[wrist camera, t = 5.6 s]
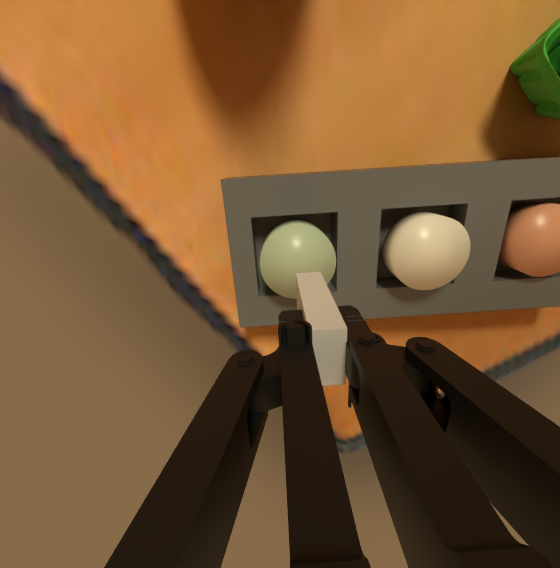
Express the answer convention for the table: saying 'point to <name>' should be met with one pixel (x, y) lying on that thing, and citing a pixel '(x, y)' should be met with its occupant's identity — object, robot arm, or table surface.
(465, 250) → the cream button
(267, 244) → the sage button
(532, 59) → the fruit basket
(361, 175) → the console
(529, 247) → the terracotta button
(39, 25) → the table surface
